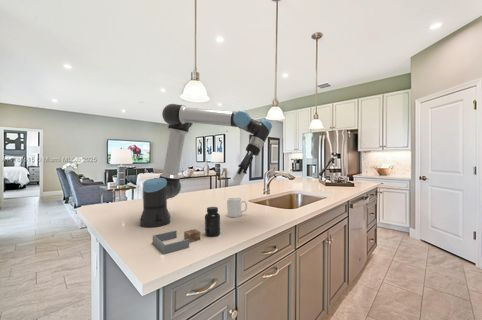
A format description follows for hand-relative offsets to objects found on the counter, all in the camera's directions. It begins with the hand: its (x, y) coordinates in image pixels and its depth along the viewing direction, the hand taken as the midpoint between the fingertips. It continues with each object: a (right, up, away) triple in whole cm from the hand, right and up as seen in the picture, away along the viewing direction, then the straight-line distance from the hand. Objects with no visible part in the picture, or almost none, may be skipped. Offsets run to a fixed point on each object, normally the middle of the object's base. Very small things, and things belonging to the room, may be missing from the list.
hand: (236, 181), depth 115 cm
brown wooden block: (-18, -23, -22) cm, 37 cm away
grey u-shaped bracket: (-26, -22, -28) cm, 44 cm away
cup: (0, -22, +15) cm, 27 cm away
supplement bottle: (-10, -22, -16) cm, 30 cm away
